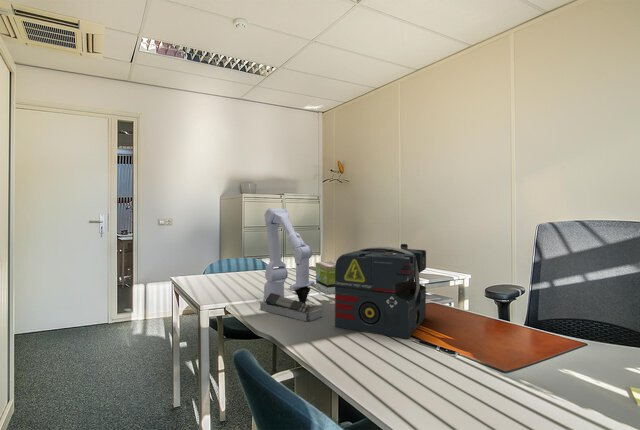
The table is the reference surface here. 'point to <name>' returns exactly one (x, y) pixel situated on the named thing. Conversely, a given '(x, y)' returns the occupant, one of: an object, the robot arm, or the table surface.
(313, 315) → the slate box
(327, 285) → the tea box
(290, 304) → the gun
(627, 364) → the table surface
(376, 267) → the power unit
